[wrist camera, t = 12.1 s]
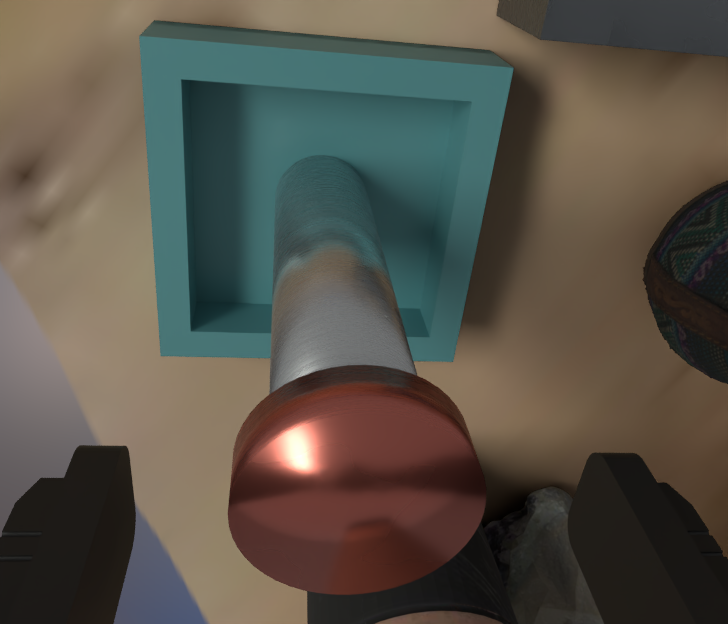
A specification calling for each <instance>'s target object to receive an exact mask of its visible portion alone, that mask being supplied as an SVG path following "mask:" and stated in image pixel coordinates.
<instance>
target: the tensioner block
mask: <svg viewBox="0 0 728 624" xmlns="http://www.w3.org/2000/svg"><path fill="white" fill-rule="evenodd" d="M497 16H499V17H500V18H502V19H504V20H506V21H508V22H509V23H511V24H513V25H515V26H517V27H518V28H520V29H522V30H524V31H526V32H528V33H529V34H531V35H533V36H535V37H537V38H538V39H541V40H552V41H563V42H574V43H584V44H595V45H606V46H617V47H628V48H638V49H649V50H660V51H671V52H682V53H693V54H703V55H714V56H725V57H728V0H499V4H498V9H497Z"/></svg>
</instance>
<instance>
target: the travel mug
mask: <svg viewBox="0 0 728 624" xmlns="http://www.w3.org/2000/svg"><path fill="white" fill-rule="evenodd" d="M307 615H308V624H518V622H517V619H516V616H515V614H514V611H513V608H512V605H511V603H510V600H509V597H508V594H507V592H506V589H505V586H504V584H503V581H502V578H501V575H500V573H499V570H498V567H497V564H496V562H495V559H494V556H493V553H492V551H491V548H490V545H489V543H488V540H487V537H486V534H485V532H484V529H483V526H482V523H481V522H480V524H479V526H478V528H477V529H476V531H475V533H474V535H473V536H472V537H471V539H470V540H469V541H468V543H467V544H466V545H465V546H464V547H463V548H462V549H461V550H460V551H459V552H458V553H457V554H456V555H455V556H454V557H453V558H451V559H450V560H449V561H448V562H447V563H445V564H444V565H442V566H441V567H439V568H438V569H436V570H435V571H433V572H431V573H429V574H427V575H425V576H423V577H421V578H419V579H417V580H414V581H412V582H410V583H407V584H404V585H401V586H398V587H395V588H391V589H387V590H382V591H378V592H371V593H364V594H351V595H336V594H324V593H316V592H311V591H307Z"/></svg>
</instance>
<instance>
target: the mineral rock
mask: <svg viewBox="0 0 728 624" xmlns="http://www.w3.org/2000/svg"><path fill="white" fill-rule="evenodd" d="M572 501H573V499H572V498H571V496H570V495H569V494H568V493H566V492H565V491H563V490H561V489H559V488H556V487H547V488H543V489H540V490H536V491H534V492H532V493H531V494H530V495H529V496H528V497H527V501H526V502H525V507H524V508H522V509H521V510H520V511H515V512H512V513H510V514H508V515H507V516H506V517H504V518H503V519H502V520H501V521H492V522H491V523H489V524H488V525H487V526H486V527H485V528H484V532H485V534H486V537H487V540H488V543H489V545H490V548H491V551H492V553H493V556H494V559H495V562H496V564H497V567H498V570H499V573H500V575H501V578H502V581H503V584H504V586H505V589H506V592H507V594H508V597H509V600H510V603H511V605H512V608H513V611H514V614H515V616H516V619H517V622H518V624H604V622H603V620H602V618H601V615H600V613H599V611H598V608H597V606H596V604H595V601H594V599H593V597H592V594H591V592H590V590H589V587H588V585H587V583H586V580H585V578H584V576H583V573H582V571H581V569H580V566H579V564H578V562H577V559H576V557H575V555H574V552H573V550H572V547H571V545H570V541H569V536H568V514H569V510H570V507H571V504H572Z"/></svg>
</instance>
